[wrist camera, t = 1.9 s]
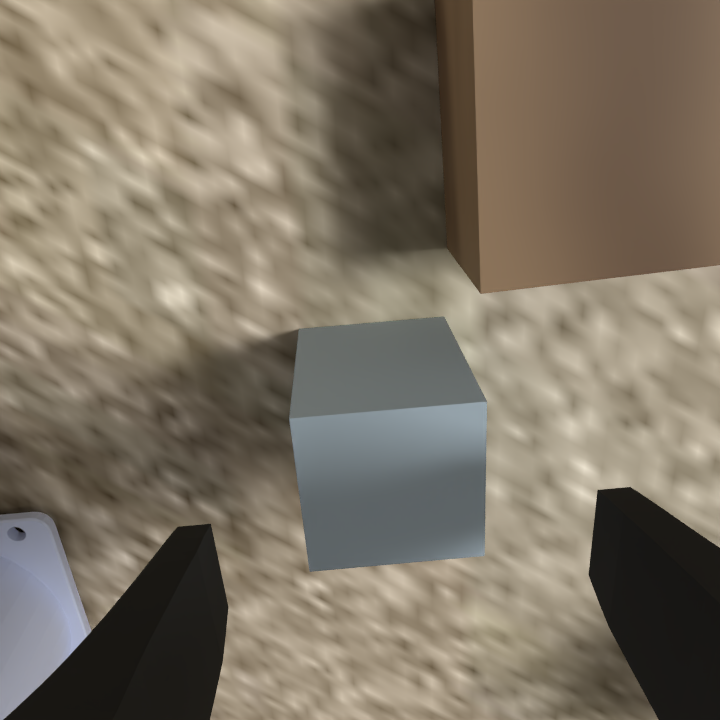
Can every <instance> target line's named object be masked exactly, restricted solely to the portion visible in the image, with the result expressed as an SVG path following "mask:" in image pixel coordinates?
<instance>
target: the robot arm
mask: <svg viewBox="0 0 720 720" xmlns="http://www.w3.org/2000/svg"><path fill="white" fill-rule="evenodd" d="M14 527H18V528H21V529H22V530H24V532H25V533H24V532H19V531H17V530H16V529H15V528H14ZM589 577H590V580H591V582H592V585H593V588H594V590H595V593H596V596H597V598H598V601H599V604H600V606H601V609H602V611H603V613H604V616H605V618H606V621H607V623H608V626H609V628H610V630H611V632H612V634H613V636H614V637H615V639H616V641H617V643H618V645H619V647H620V649H621V651H622V653H623V654H624V656H625V658H626V660H627V662H628V664H629V666H630V668H631V669H632V671H633V673H634V675H635V677H636V679H637V680H638V682H639V684H640V686H641V688H642V690H643V691H644V693H645V695H646V697H647V699H648V701H649V703H650V704H651V706H652V708H653V710H654V712H655V714H656V715H657V717H658V719H659V720H720V548H719V547H718V546H716V545H715V544H713V543H712V542H710V541H709V540H707V539H706V538H704V537H703V536H701V535H700V534H698V533H697V532H695V531H694V530H693V529H691V528H690V527H688V526H687V525H685V524H684V523H682V522H681V521H680V520H678V519H677V518H675V517H674V516H672V515H671V514H669V513H668V512H667V511H665V510H664V509H662V508H661V507H659V506H658V505H656V504H655V503H654V502H652V501H651V500H649V499H648V498H646V497H645V496H643V495H642V494H640V493H639V492H637V491H636V490H634V489H632V488H631V487H627V488H615V489H604V490H598V492H597V502H596V511H595V520H594V530H593V539H592V549H591V558H590V567H589ZM227 615H228V603H227V599H226V594H225V589H224V585H223V580H222V575H221V570H220V566H219V561H218V556H217V551H216V547H215V542H214V537H213V532H212V528H211V524H205V525H193V526H182V527H177V528H176V529H175V531H174V532H173V533H172V534H171V535H170V537H169V538H168V539H167V540H166V542H165V543H164V544H163V545H162V547H161V548H160V549H159V550H158V552H157V553H156V554H155V556H154V557H153V558H152V559H151V561H150V562H149V563H148V564H147V566H146V567H145V568H144V569H143V571H142V572H141V573H140V575H139V576H138V577H137V578H136V580H135V581H134V582H133V583H132V584H131V586H130V587H129V588H128V589H127V590H126V592H125V593H124V594H123V595H122V596H121V598H120V599H119V600H118V601H117V602H116V604H115V605H114V606H113V607H112V608H111V610H110V611H109V612H108V613H107V614H106V616H105V617H104V618H103V619H102V620H101V621H100V622H99V624H98V625H97V626H96V627H95V628H94V629H93V630H92V631H91V628H90V626H89V623H88V620H87V617H86V614H85V611H84V608H83V605H82V602H81V599H80V596H79V593H78V590H77V587H76V584H75V581H74V578H73V575H72V572H71V569H70V566H69V563H68V561H67V558H66V555H65V552H64V549H63V546H62V543H61V540H60V537H59V534H58V531H57V528H56V525H55V523H54V521H53V519H52V518H51V517H49V516H48V515H47V514H44V513H41V512H25V513H14V514H3V515H0V720H210V716H211V712H212V707H213V703H214V698H215V694H216V689H217V685H218V680H219V676H220V671H221V666H222V662H223V653H224V645H225V636H226V625H227Z"/></svg>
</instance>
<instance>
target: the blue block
mask: <svg viewBox="0 0 720 720" xmlns="http://www.w3.org/2000/svg"><path fill="white" fill-rule="evenodd" d="M289 421H290V428H291V436H292V443H293V451H294V458H295V466H296V473H297V480H298V488H299V495H300V503H301V510H302V518H303V525H304V533H305V540H306V547H307V555H308V562H309V570H310V572H312V571H323V570H334V569H345V568H356V567H367V566H378V565H389V564H400V563H411V562H422V561H433V560H444V559H455V558H466V557H477V556H484V552H485V489H486V426H487V401H486V399H485V397H484V395H483V393H482V391H481V389H480V387H479V385H478V383H477V381H476V379H475V377H474V375H473V373H472V371H471V369H470V367H469V365H468V363H467V361H466V359H465V357H464V355H463V353H462V351H461V349H460V347H459V345H458V343H457V341H456V339H455V337H454V335H453V333H452V331H451V329H450V327H449V325H448V323H447V321H446V319H445V317H434V318H422V319H410V320H398V321H386V322H375V323H363V324H351V325H339V326H327V327H316V328H304V329H299V332H298V342H297V351H296V360H295V369H294V379H293V388H292V397H291V406H290V416H289Z"/></svg>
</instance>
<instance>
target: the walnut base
mask: <svg viewBox="0 0 720 720" xmlns="http://www.w3.org/2000/svg"><path fill="white" fill-rule="evenodd" d="M435 16H436V35H437V55H438V75H439V95H440V115H441V135H442V155H443V174H444V194H445V214H446V234H447V249H448V250H449V252H450V253H451V254H452V256H453V257H454V258H455V260H456V261H457V262H458V264H459V265H460V266H461V268H462V269H463V270H464V272H465V273H466V274H467V276H468V277H469V278H470V280H471V281H472V283H473V284H474V285H475V287H476V288H477V289H478V291H479V292H480V293H481V294H483V293H491V292H499V291H508V290H516V289H524V288H533V287H541V286H549V285H558V284H566V283H574V282H582V281H591V280H599V279H607V278H616V277H624V276H632V275H641V274H649V273H657V272H666V271H674V270H682V269H691V268H699V267H707V266H716V265H720V0H435Z"/></svg>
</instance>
